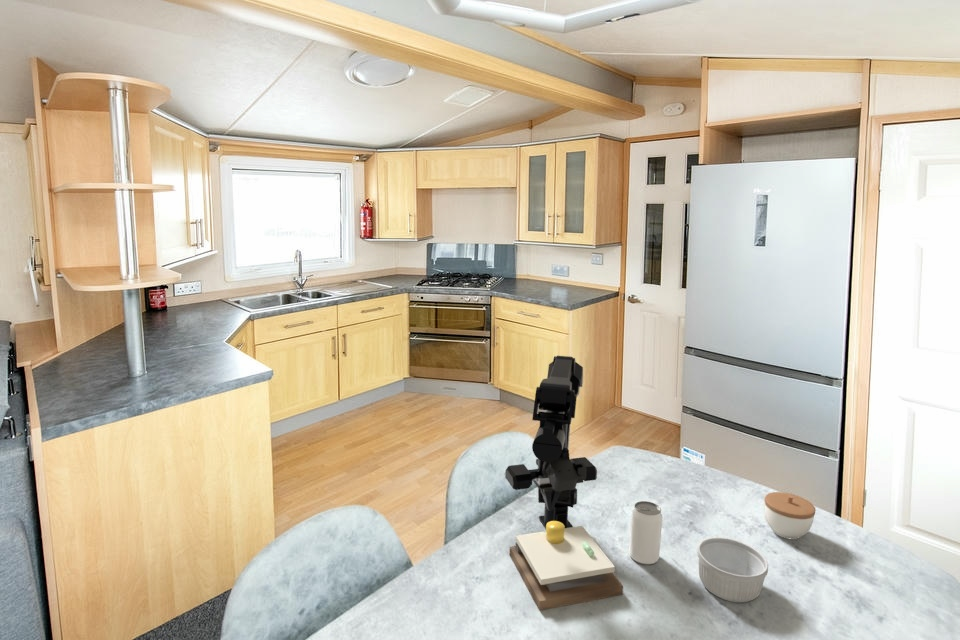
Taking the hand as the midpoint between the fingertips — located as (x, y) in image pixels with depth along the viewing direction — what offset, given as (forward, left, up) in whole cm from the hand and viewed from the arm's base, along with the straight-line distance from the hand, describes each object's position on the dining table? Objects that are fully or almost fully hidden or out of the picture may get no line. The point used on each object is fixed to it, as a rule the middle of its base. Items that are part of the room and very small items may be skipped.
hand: (549, 509), depth 119 cm
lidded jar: (+3, +61, -13) cm, 62 cm away
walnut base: (+4, +2, -13) cm, 14 cm away
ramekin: (+16, +34, -13) cm, 40 cm away
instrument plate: (+3, +2, -9) cm, 10 cm away
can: (+3, +22, -13) cm, 26 cm away
